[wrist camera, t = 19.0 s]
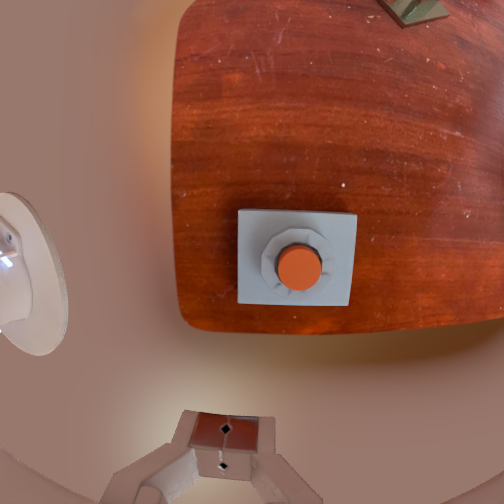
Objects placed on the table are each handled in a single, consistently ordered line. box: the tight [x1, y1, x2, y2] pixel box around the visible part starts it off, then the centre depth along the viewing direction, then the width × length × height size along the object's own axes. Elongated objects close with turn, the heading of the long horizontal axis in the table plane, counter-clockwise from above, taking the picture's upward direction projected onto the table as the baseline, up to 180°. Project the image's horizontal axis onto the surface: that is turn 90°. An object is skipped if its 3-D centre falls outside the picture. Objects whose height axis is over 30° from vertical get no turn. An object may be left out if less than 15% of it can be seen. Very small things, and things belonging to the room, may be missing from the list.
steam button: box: [278, 245, 321, 291], centre depth 24 cm, size 4×4×2 cm
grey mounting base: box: [238, 209, 357, 306], centre depth 26 cm, size 11×9×4 cm
